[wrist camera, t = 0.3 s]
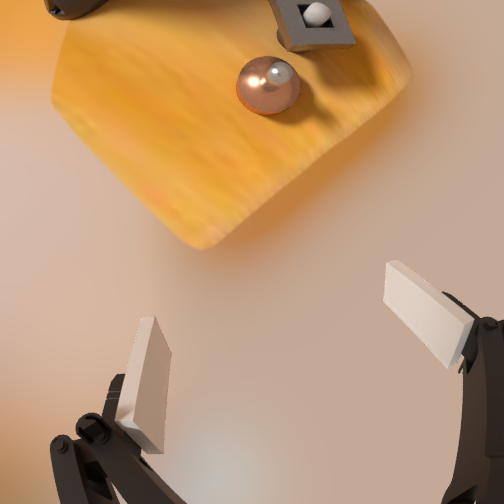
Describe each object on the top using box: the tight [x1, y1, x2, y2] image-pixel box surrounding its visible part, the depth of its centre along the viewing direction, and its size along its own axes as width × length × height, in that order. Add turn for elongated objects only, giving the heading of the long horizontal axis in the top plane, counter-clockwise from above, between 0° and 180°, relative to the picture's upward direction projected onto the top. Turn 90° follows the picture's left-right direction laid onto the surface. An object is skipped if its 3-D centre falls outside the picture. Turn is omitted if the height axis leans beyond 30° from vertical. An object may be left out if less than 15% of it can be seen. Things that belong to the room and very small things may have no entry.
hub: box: [236, 56, 301, 115], centre depth 29 cm, size 8×8×9 cm
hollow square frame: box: [269, 0, 356, 52], centre depth 24 cm, size 9×9×2 cm
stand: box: [277, 3, 331, 53], centre depth 26 cm, size 6×6×10 cm
